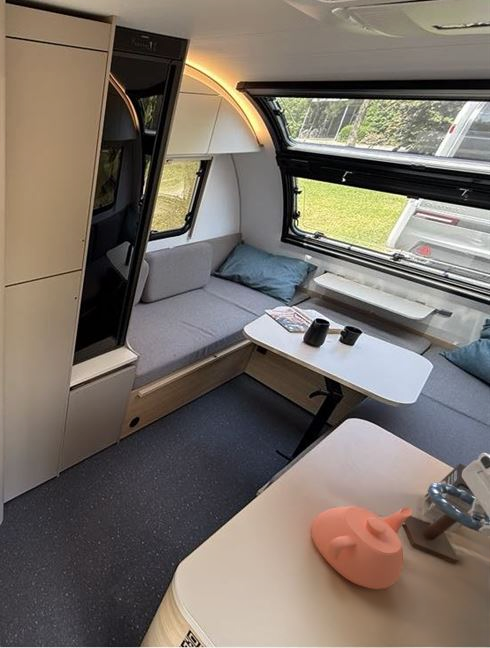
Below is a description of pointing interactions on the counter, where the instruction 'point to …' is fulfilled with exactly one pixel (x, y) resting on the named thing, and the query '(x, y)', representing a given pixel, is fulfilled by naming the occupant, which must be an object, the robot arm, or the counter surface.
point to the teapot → (361, 544)
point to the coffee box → (449, 497)
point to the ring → (439, 500)
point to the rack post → (431, 536)
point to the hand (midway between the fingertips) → (477, 524)
